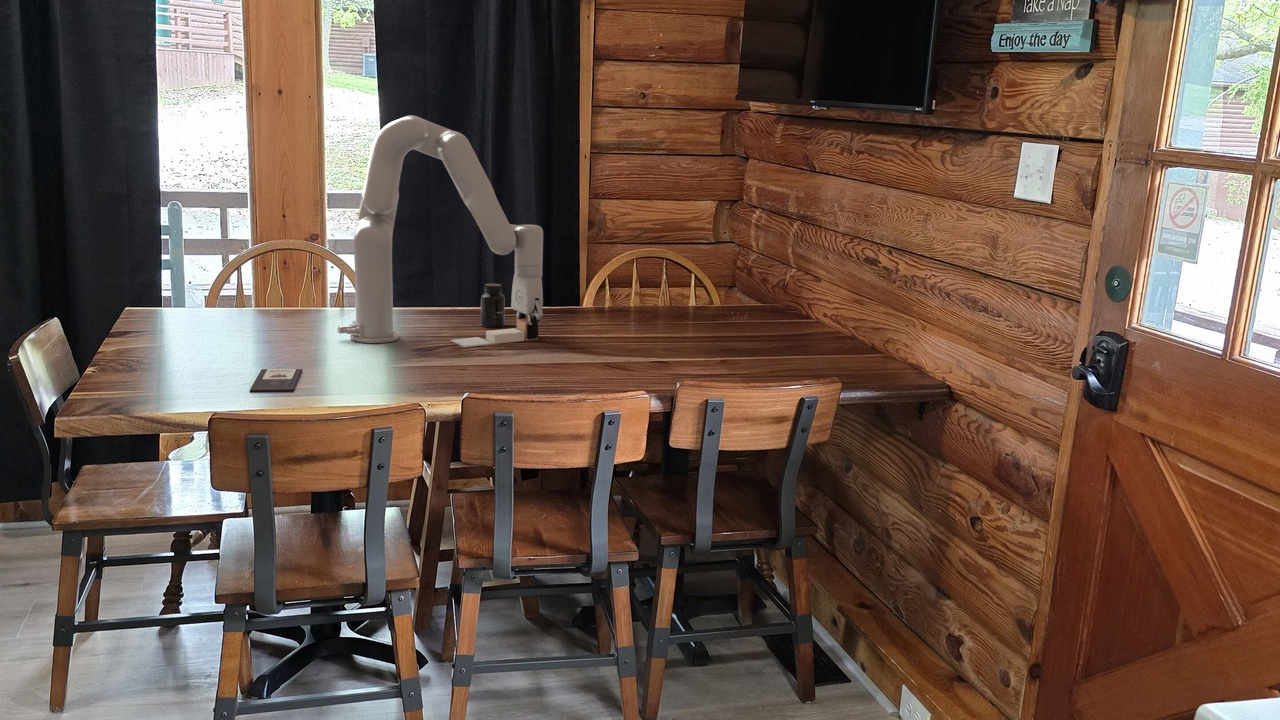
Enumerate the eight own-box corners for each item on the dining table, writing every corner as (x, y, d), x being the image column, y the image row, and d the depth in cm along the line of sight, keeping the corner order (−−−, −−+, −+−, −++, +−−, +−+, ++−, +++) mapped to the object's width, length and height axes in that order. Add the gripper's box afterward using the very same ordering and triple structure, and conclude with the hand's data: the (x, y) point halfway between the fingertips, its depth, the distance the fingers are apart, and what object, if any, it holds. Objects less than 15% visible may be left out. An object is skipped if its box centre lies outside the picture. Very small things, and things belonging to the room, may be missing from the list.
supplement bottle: (502, 328, 299) (503, 287, 296) (478, 327, 299) (478, 286, 296) (506, 323, 306) (506, 283, 303) (482, 322, 306) (483, 282, 303)
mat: (464, 347, 275) (464, 346, 275) (451, 341, 281) (451, 339, 281) (491, 344, 280) (492, 343, 280) (478, 338, 286) (478, 337, 286)
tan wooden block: (525, 340, 286) (525, 322, 285) (516, 337, 290) (516, 318, 289) (538, 339, 288) (538, 321, 287) (529, 335, 292) (529, 317, 291)
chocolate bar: (249, 390, 227) (261, 369, 244) (249, 394, 227) (261, 373, 244) (293, 389, 228) (302, 368, 245) (293, 393, 229) (302, 372, 246)
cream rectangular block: (494, 343, 281) (494, 334, 280) (485, 340, 284) (486, 330, 284) (524, 340, 286) (524, 331, 285) (515, 337, 290) (515, 327, 289)
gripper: (501, 266, 289) (500, 331, 293) (531, 276, 276) (530, 344, 280) (525, 265, 293) (524, 329, 298) (556, 275, 280) (554, 341, 284)
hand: (527, 335), depth 289 cm, fingers closed on tan wooden block, 5 cm apart
